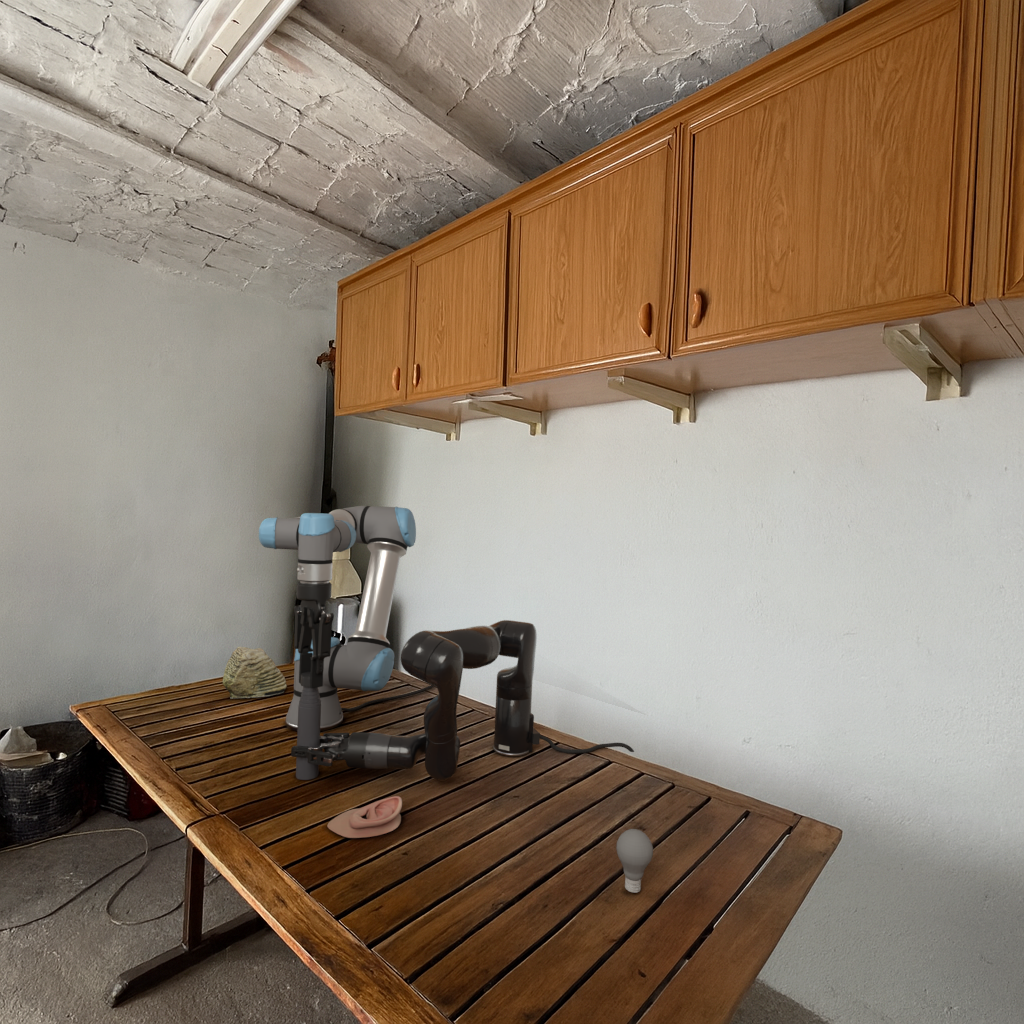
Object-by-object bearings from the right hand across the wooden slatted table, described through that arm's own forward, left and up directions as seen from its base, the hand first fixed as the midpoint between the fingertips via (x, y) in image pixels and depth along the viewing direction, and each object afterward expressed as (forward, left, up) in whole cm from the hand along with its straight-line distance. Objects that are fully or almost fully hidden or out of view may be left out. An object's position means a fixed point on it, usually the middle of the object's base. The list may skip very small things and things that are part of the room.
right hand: (296, 746), depth 144 cm
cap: (-2, +1, +16) cm, 17 cm away
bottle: (-2, +1, -7) cm, 7 cm away
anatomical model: (-11, +27, -7) cm, 30 cm away
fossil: (+8, -62, -7) cm, 63 cm away
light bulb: (-49, +62, -7) cm, 79 cm away
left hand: (-2, +1, +14) cm, 15 cm away
